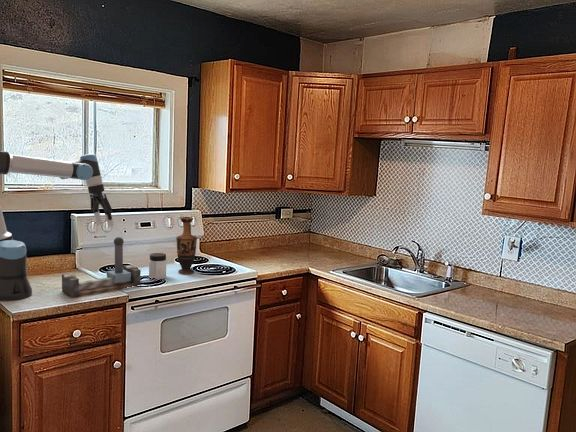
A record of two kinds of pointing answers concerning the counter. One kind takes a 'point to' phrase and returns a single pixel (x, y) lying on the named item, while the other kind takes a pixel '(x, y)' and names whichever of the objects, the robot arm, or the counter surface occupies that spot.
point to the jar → (157, 265)
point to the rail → (97, 283)
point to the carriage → (119, 264)
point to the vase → (186, 247)
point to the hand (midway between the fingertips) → (105, 225)
